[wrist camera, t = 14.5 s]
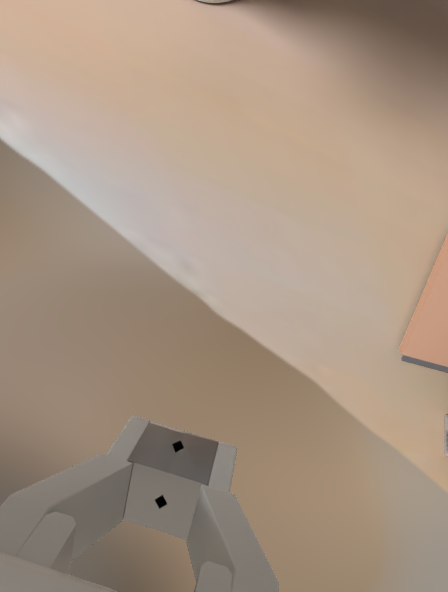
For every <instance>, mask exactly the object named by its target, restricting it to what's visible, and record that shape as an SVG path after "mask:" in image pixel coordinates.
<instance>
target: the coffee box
mask: <svg viewBox="0 0 448 592" xmlns="http://www.w3.org/2000/svg"><path fill="white" fill-rule="evenodd" d="M444 452H445V454H446V455H447V457H448V414H447V415H445V445H444Z"/></svg>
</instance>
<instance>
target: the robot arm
mask: <svg viewBox="0 0 448 592" xmlns="http://www.w3.org/2000/svg"><path fill="white" fill-rule="evenodd" d="M198 1H202V2H208V3H221V2H227V1H231V0H198ZM236 453H237V446H235V445H232V444H228V443H224V442H221V441H220V442H219V443H218V441H215V440H212V439H209V438H205V437H202V436H198V435H195V434H192V433H188V432H185V431H182V430H179V429H175V428H173V427H170V426H166V425H163V424H160V423H157V422H154V421H150V420H147V419H144V418H141V417H138V416H133V417H131V418H130V420H129V421H128V422H127V424H126V426H125V427H124V429H123V430H122V432H121V433H120V435H119V436H118V438H117V439H116V441H115V443H114V444H113V446H112V447H111V449H110V450H109V452H108V453H107V455H106V454H102V453H101V454H98V455H97V456H94V457H92V458H90V459H88V460H85V461H83V462H81V463H79V464H77V465H75V466H72V467H70V468H68V469H66V470H63V471H61V472H59V473H57V474H55V475H53V476H50V477H48V478H46V479H44V480H42V481H40V482H37V483H35V484H33V485H31V486H29V487H26V488H24V489H22V490H20V491H18V492H16V493H13V494H11V495H10V496H9V497H8V498H7V500H6V501H5V502H4V503H3V504H2V505H1V506H0V592H119V591H116V590H113V589H110V588H107V587H104V586H101V585H98V584H95V583H92V582H89V581H86V580H83V579H80V578H77V577H74V576H71V575H69V573H70V566H71V561H72V560H74V559H75V558H76V557H77V556H78V555H80V554H81V553H82V552H84V551H85V550H86V549H88V548H89V547H90V546H92V545H93V544H94V543H95V542H97V541H98V540H99V539H101V538H102V537H103V536H104V535H106V534H107V533H108V532H110V531H111V530H112V529H113V528H115V527H116V526H117V525H119V524H120V523H121V522H122V520H126V521H129V522H133V523H136V524H140V525H143V526H146V527H150V528H154V529H156V530H159V531H162V532H165V533H168V534H170V535H173V536H176V537H179V538H182V539H185V540H187V542H186V543H187V547H188V551H189V555H190V559H191V563H192V567H193V571H194V575H195V579H196V586H195V589H194V592H278V591H279V582H278V580H277V578H276V576H275V574H274V572H273V570H272V568H271V566H270V564H269V562H268V560H267V558H266V556H265V554H264V552H263V550H262V548H261V546H260V544H259V542H258V540H257V538H256V536H255V534H254V532H253V530H252V528H251V526H250V524H249V522H248V520H247V518H246V516H245V514H244V512H243V510H242V508H241V506H240V504H239V502H238V500H237V497H236V496H235V494H232V493H230V487H231V482H232V476H233V470H234V465H235V459H236Z"/></svg>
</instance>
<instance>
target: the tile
mask: <svg viewBox="0 0 448 592" xmlns="http://www.w3.org/2000/svg"><path fill="white" fill-rule="evenodd" d="M399 350H400V351H401V353H402V354H403V355H405V356H409V357H412V358H416V359H420V360H424V361H427V362H431V363H435V364H438V365H442V366H446V367H448V233H447V236H446V238H445V240H444V243H443V245H442V248H441V250H440V252H439V255H438V257H437V259H436V262H435V264H434V266H433V269H432V271H431V273H430V276H429V278H428V281H427V283H426V285H425V288H424V290H423V292H422V295H421V297H420V299H419V302H418V304H417V306H416V309H415V311H414V314H413V316H412V318H411V321H410V323H409V325H408V328H407V330H406V332H405V335H404V337H403V339H402V342H401V344H400V347H399Z"/></svg>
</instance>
